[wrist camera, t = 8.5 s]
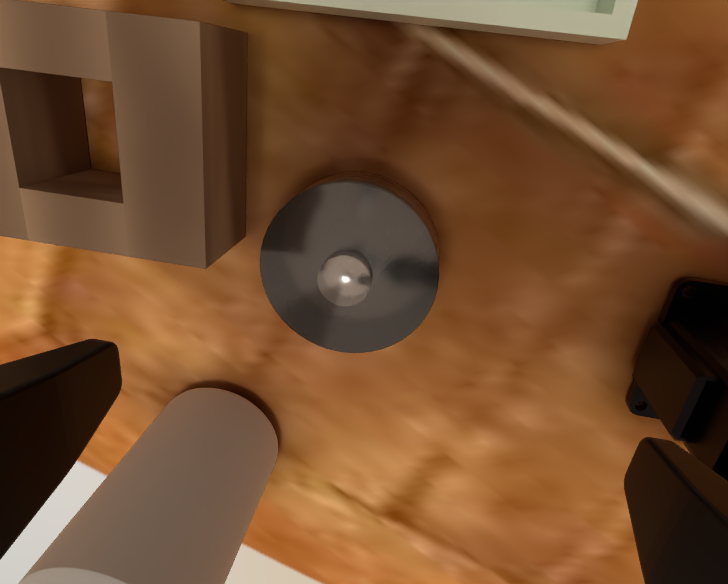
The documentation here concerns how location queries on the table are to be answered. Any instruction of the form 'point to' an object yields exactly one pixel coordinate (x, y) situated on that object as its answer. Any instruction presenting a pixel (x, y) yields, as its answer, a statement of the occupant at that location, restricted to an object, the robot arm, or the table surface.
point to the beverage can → (171, 499)
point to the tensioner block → (123, 133)
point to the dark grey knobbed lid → (351, 262)
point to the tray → (487, 15)
